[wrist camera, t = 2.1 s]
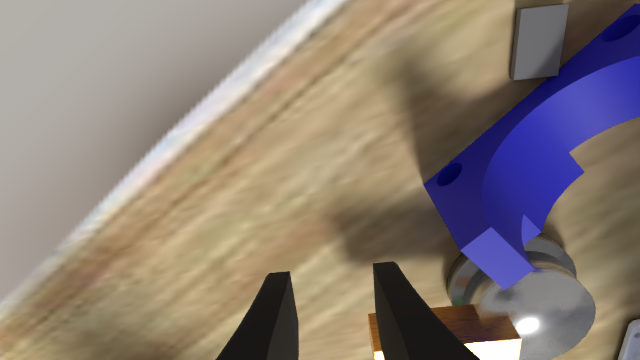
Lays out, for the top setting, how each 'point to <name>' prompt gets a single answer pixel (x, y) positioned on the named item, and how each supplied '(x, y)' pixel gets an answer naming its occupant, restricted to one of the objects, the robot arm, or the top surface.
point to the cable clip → (537, 152)
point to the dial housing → (467, 268)
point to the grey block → (538, 41)
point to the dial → (517, 314)
